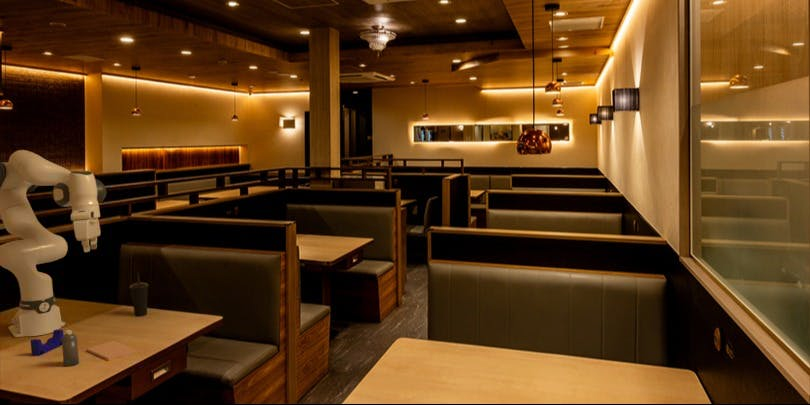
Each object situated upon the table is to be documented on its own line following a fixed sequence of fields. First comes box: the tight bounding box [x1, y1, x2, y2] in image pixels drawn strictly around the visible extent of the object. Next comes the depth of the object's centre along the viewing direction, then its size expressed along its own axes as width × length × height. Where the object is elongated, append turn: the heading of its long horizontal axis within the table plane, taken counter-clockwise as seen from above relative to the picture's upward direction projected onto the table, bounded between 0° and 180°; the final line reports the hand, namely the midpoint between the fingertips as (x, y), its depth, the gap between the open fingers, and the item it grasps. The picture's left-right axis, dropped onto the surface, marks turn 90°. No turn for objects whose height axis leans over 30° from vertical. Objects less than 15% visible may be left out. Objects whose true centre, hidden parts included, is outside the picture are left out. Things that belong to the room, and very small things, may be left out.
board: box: [86, 340, 137, 362], centre depth 209 cm, size 16×10×1 cm, turn 54°
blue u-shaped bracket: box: [30, 329, 65, 357], centre depth 212 cm, size 12×4×6 cm, turn 169°
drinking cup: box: [129, 270, 149, 317], centre depth 252 cm, size 8×8×20 cm
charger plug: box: [61, 329, 80, 368], centre depth 197 cm, size 5×5×12 cm
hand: (90, 250), depth 211 cm, fingers open, 8 cm apart
